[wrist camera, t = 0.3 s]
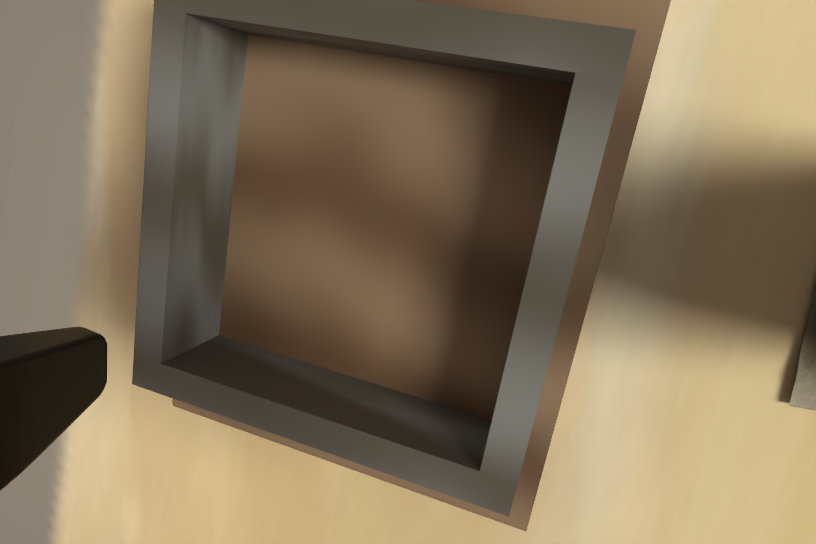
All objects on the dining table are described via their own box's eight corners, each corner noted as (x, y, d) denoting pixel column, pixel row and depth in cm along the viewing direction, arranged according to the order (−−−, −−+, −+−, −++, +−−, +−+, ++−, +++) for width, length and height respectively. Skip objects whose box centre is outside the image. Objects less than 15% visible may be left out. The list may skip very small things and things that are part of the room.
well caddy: (528, 518, 23) (514, 598, 19) (184, 398, 27) (111, 442, 23) (679, -38, 17) (705, -93, 13) (224, -84, 21) (139, -137, 17)
